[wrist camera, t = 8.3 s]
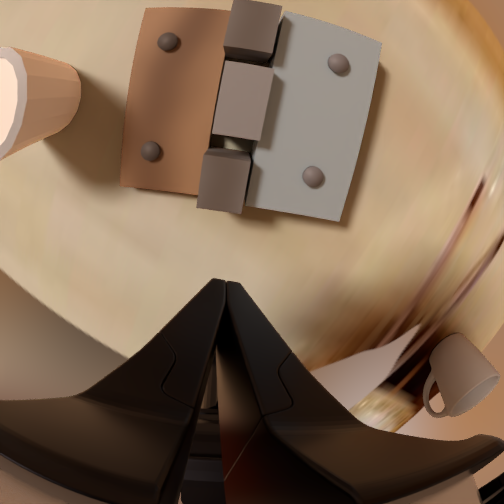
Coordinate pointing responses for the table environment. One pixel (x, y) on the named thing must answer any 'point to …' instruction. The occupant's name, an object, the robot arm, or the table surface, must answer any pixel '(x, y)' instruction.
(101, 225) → the table surface
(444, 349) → the cup
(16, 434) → the robot arm
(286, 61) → the leaf
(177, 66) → the leaf
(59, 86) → the pale pink tumbler
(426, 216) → the table surface
